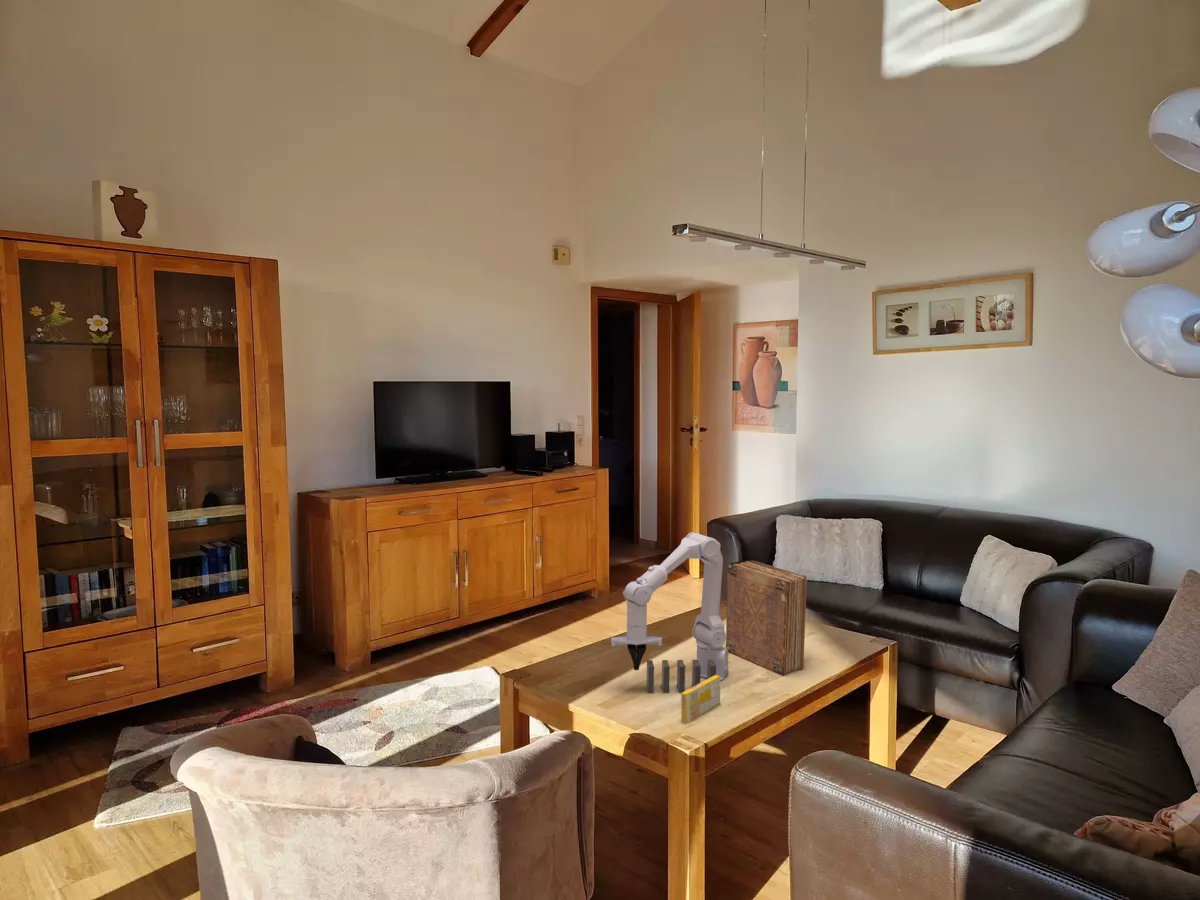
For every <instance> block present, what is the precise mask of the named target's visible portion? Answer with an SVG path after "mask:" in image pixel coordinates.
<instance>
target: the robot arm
mask: <svg viewBox="0 0 1200 900" xmlns="http://www.w3.org/2000/svg"><path fill="white" fill-rule="evenodd" d="M688 559H689V560H690V559H691V560H692V559H695V560H697V559H699V560H700V561H701V562H702V563H703V564H704V565H703V566H704V567H703V578H702V590H701V591H702V593H701V607H700V609H701V610H700V614H698V615H697V616H695V621H694V625H693V627H692V630H691V631H692V632H691V633H692V636H693V638H694V639H695V643H696V660H698V661H699V664H700V666H701V676H700V678H706V679H707V664H708V660H713V661H714V663H715V665H716V675H717V676H720V681H724V678H726V675H727V674H728V673H729V652H728V648H726V646H725V647H724V644H726V631H725V623H724V621H723V620H722V618H721V616H720V607H721V606H720V605H721V595H722V594H721V593H722V592H721V591H722V579H723V578H722V577H723V564H724V558H723V555H722V551H721V543H720V542H719V541H718V540H717V539H716V538H713V537H710V536H706V535H704V534H700V533H698V532H696V531H695V532H694V531H692V532H689V533H688V534H687V535H686V536H685V537H684V538H682V539H681V542H680V544H679V545H678V547H677V548H675V549H674V550H673V551H672V553H670V555H668V556H667V557H666V559H664V560H663V561H662V563H660V564H654V565H652V566H651V565H650V566H649V567H648V568H647V569H648V570H647V571H646V572H645V573H643V574H642V575H640V577H637V578H636V580H635V581H634V580H633V581H630V582H629V583H627V585H626V586H625V589H624V590H623V591H622V595H623V597H624V598H625V600H626V635H623V636H616V637H615V636H613V637H611V643H610V644H611V647H616V646H627V651H628V653H629V655H630V657H631V660H632V663H633V670H634V671H640V666H641V662H642V659H643V658H644V657H643V656H644V655H645V654H646V651H647V646H659V647H660V646H662V645H663V639H662V636H651V635H647V634H648V633H647V629H648V628H647V625H648V624H647V621H648V619H647V618H648V616H647V614H648V613H647V612H648V611H647V610H648V608H647V607H648V603H650V601H651V599H652V595H653V594H654V592H655V591H656V590H658V589H659V588H660V587H661V586H663V584H664V583H665V582H667V581H668V574H670V573H671V572H672V571H674V570H675V569H676V568H677V567H678V566H681V564H683V563H684V562H686V561H687V560H688Z"/></svg>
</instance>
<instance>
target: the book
mask: <svg viewBox="0 0 1200 900" xmlns="http://www.w3.org/2000/svg"><path fill="white" fill-rule="evenodd" d="M726 575H727V576H726V577H727V580H726V581H727V582H726V584H727V586H726V587H727V588H726V623H725V624H726V625H725V627H726V629H725V630H726V631H725V633H726V640H725V648H728V654H729V653H730V654H732V655H734V656H736V657H739V658H741V659H743V660H745V661H748V662H750V663H752V664H754V665H756V666H760V667H761V668H763V669H766V670H767V671H770V672H772V673H775V674H777V675H779V676H782V677H785V675H786V673H790V672H793V671H797V670H801V671H802V670H804V666H805V665H804V664H805V662H804V661H805V639H806V638H805V637H806V615H807V614H806V612H807V611H806V607H807V584H808V583H807V582H808V577H807V575H804V574H800V573H797V572H794V571H790V570H787V569H782V568H780V567H776V566H773V565H769V564H765V563H763V562H759V561H756V560H751V559H744V560H739V561H735V562H730V563H727V574H726Z"/></svg>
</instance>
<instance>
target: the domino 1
mask: <svg viewBox="0 0 1200 900" xmlns="http://www.w3.org/2000/svg"><path fill="white" fill-rule="evenodd" d="M645 684H646V690H647V694H654V693H655V689H654V688H655V665H654V662H653V660H652V659H648V660H647V659H646V683H645Z"/></svg>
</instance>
